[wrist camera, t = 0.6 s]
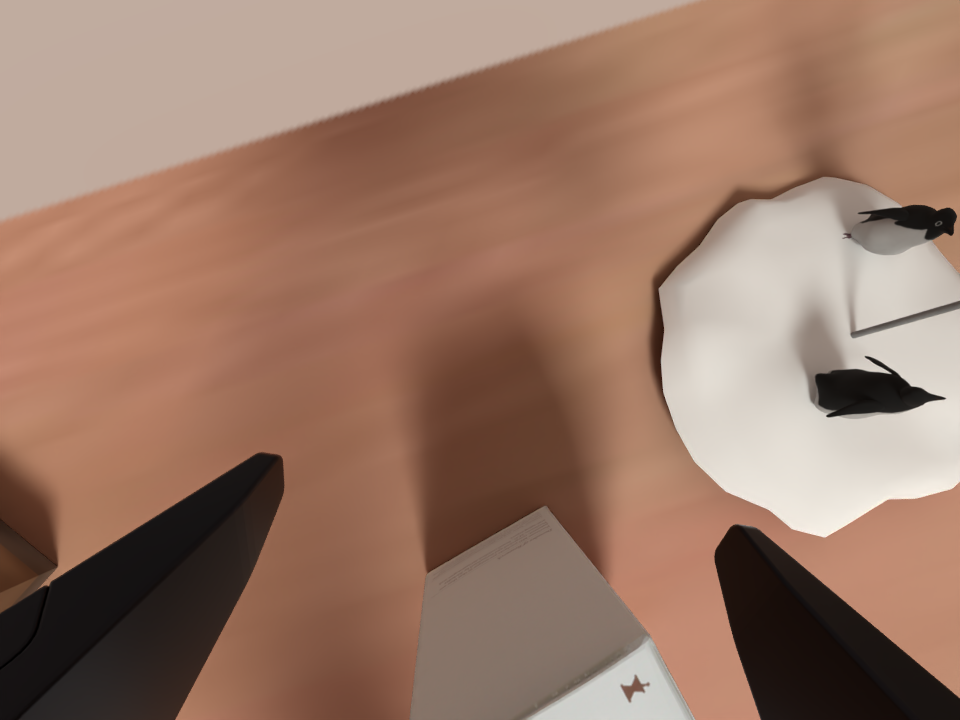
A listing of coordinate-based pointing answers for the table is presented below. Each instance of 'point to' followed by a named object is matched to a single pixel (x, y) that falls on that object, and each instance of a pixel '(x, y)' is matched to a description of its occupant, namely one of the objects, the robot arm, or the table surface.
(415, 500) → the table surface
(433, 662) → the supplement box
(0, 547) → the walnut pocket block
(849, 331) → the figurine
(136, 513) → the table surface
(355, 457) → the table surface
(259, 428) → the table surface
